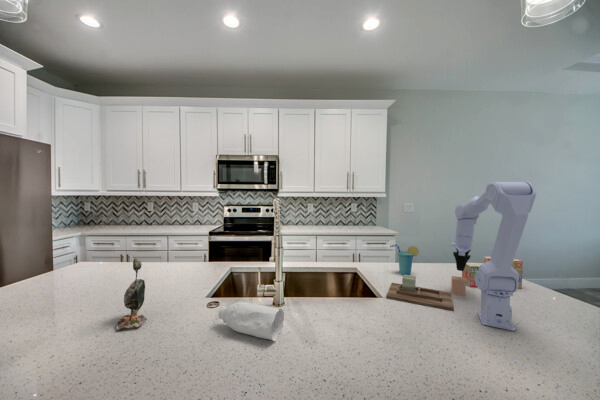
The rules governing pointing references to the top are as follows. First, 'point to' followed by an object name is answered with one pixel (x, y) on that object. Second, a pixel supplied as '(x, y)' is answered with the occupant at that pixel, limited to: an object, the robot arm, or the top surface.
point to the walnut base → (419, 294)
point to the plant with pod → (133, 301)
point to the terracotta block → (458, 285)
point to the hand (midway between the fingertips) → (460, 266)
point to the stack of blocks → (474, 267)
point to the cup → (406, 259)
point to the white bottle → (253, 319)
